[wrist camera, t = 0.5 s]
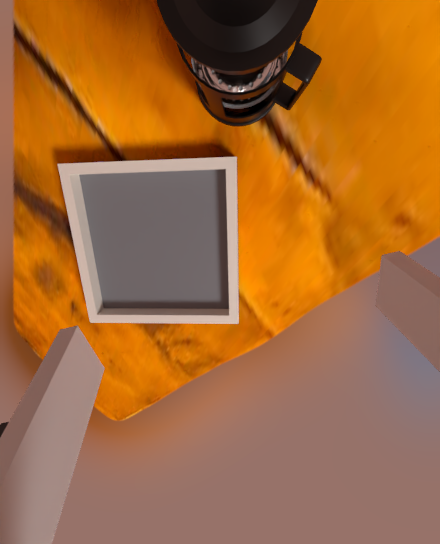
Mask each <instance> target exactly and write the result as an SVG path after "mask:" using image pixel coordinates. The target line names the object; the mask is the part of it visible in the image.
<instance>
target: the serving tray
mask: <svg viewBox="0 0 440 544" xmlns="http://www.w3.org/2000/svg"><path fill="white" fill-rule="evenodd" d="M58 169H59V174H60V179H61V184H62V189H63V194H64V198H65V203H66V208H67V213H68V218H69V223H70V228H71V232H72V237H73V242H74V247H75V252H76V257H77V262H78V266H79V271H80V276H81V281H82V286H83V291H84V296H85V301H86V305H87V310H88V315H89V320H90V323H204V324H239V289H238V204H237V157H214V158H189V159H164V160H139V161H114V162H89V163H64V164H58Z"/></svg>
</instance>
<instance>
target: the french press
mask: <svg viewBox="0 0 440 544" xmlns="http://www.w3.org/2000/svg"><path fill="white" fill-rule="evenodd" d="M317 1H318V0H157V4H158V7H159V9H160V12H161V14H162V17H163V20H164V22H165V24H166V26H167V28H168V30H169V31H170V33H171V35H172V36H173V38H174V40H175V41H176V42H177V46H178V48H179V51H180V53H181V56H182V59H183V61H184V63H185V65H186V66H187V68H188V70H189V71H190V73H191V75H192V76H193V78H194V79H195V81H196V85H197V89H198V94H199V96H200V99H201V102H202V103H203V105H204V107H205V108H206V110H207V111H208V112H209V113H210V114H211V115H212V116H213V117H214V118H215V119H217V120H218V121H219V122H222V123H224V124H226V125H230V126H246V125H250V124H252V123H254V122H257V121H259V120H260V119H261V118H263V117H264V116H265V115H266V114H267V113H268V112H269V111H270V110H271V109H272V107H273V106H274V104H275V103H277V104H278V105H280V106H282V107H283V108H285V109H287V110H290V109H291V108H292V107H293V105H294V104H295V102H296V101H297V100H298V98H299V97H300V96H301V94H302V93H303V91H304V90H305V89H306V87H307V86H308V84H309V83H310V81H311V79H312V77H313V76H314V74H315V72H316V70H317V68H318V67H319V65H320V63H321V60H322V58H321V57H320V56H319V55H317V54H316V53H314V52H313V51H311V50H310V49H308V48H306V47H305V46H303V45H302V44H300V43H299V42H300V39H301V35H302V31H303V30H304V28H305V26H306V25H307V23H308V22H309V20H310V17H311V15H312V13H313V10H314V8H315V6H316V3H317ZM295 41H296V43H295V47H294V50H293V52H292V54H291V56H290V58H289V59H288V61H287V53H288V49H289V48H290V46H291V45H292V44H293V43H294V42H295ZM183 50H184V52H185V53H186V54H187V55H189V56H190V57H191V61H192V66H193V70H192V68H191V67H190V65H189V64H188V62H187V60H186V58H185V55H184V52H183ZM286 61H287V62H286ZM287 72H288V73H290V74H292V75H293V76H295V77H296V78H298V79H300V80H301V81H303V82H302V83H301V85H300V87H299V88H298V90H297V91H296V90H294V89H293V88H291V87H289V86H288V85H286V84H285V83H283V80H284V77H285V75H286V73H287ZM259 102H261V103H260V104H259V105H257V106H256V107H255V108H253V109H251V110H249V111H247V112H242V113H234V112H229V111H227V110H225V109H224V107H228V108H232V109H243V108H247V107H251V106H253V105H255V104H257V103H259Z"/></svg>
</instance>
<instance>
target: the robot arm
mask: <svg viewBox="0 0 440 544" xmlns="http://www.w3.org/2000/svg"><path fill="white" fill-rule="evenodd" d="M376 307H377V308H378V309H379V310H380V311H381V312H382V313H383V314H384V315H385V316H386V317H387V318H388V319H389V320H390V321H391V322H392V323H393V324H394V325H395V326H396V327H397V328H398V329H399V331H400V332H401V333H402V334H403V335H405V337H406V338H407V339H408V340H409V341H410V342H411V343H412V344H413V345H414V346H415V347H416V348H417V349H418V350H419V351H420V352H421V353H422V354H423V355H424V356H425V357H426V358H427V359H428V360H429V361H430V362H431V363H432V364H433V365H434V367H436V369H437V370H438V371H439V372H440V278H439V277H438V276H436V275H435V274H433V273H432V272H430V271H429V270H427V269H426V268H424V267H423V266H421V265H420V264H418V263H416V262H415V261H414V260H412V259H411V258H409V257H408V256H406V255H405V254H403V253H402V252H400V251H398V252H394V253H389V254H385V255H382V258H381V266H380V274H379V282H378V290H377V298H376ZM104 369H105V368H104V367H103V365H102V363H101V362H100V360H99V359H98V357H97V356H96V354H95V352H94V351H93V349H92V348H91V346H90V344H89V343H88V341H87V340H86V338H85V337H84V335H83V333H82V332H81V330H80V329H79V327H78V326H74V327H70V328H66V329H61V330H60V331H59V332H58V334H57V336H56V338H55V340H54V342H53V343H52V345H51V347H50V349H49V351H48V352H47V354H46V356H45V358H44V360H43V361H42V363H41V365H40V367H39V369H38V370H37V372H36V374H35V376H34V378H33V379H32V381H31V383H30V385H29V387H28V389H27V390H26V392H25V394H24V396H23V398H22V399H21V401H20V403H19V405H18V407H17V408H16V410H15V412H14V414H13V416H12V417H11V419H10V421H9V422H6V423H2V424H1V425H0V544H52V541H53V538H54V535H55V531H56V528H57V525H58V521H59V518H60V514H61V511H62V508H63V505H64V501H65V498H66V495H67V491H68V488H69V485H70V481H71V478H72V475H73V471H74V468H75V465H76V462H77V458H78V455H79V451H80V448H81V445H82V441H83V438H84V435H85V431H86V428H87V425H88V422H89V418H90V415H91V412H92V408H93V405H94V402H95V398H96V395H97V392H98V388H99V385H100V382H101V379H102V375H103V372H104Z"/></svg>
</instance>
